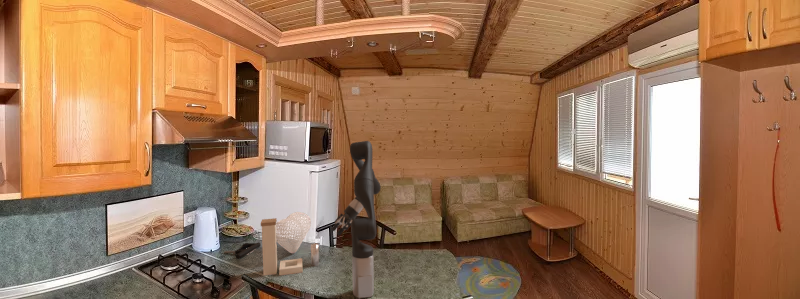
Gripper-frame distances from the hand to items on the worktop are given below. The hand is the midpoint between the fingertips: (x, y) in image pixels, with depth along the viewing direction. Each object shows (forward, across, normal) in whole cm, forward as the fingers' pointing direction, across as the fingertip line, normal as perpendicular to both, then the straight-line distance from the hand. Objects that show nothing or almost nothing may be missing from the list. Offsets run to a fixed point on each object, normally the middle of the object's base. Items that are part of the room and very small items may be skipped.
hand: (335, 232), depth 174 cm
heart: (+23, -23, -1) cm, 33 cm away
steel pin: (+19, 0, +3) cm, 19 cm away
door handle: (+42, -42, -19) cm, 62 cm away
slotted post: (+30, -2, -9) cm, 32 cm away
